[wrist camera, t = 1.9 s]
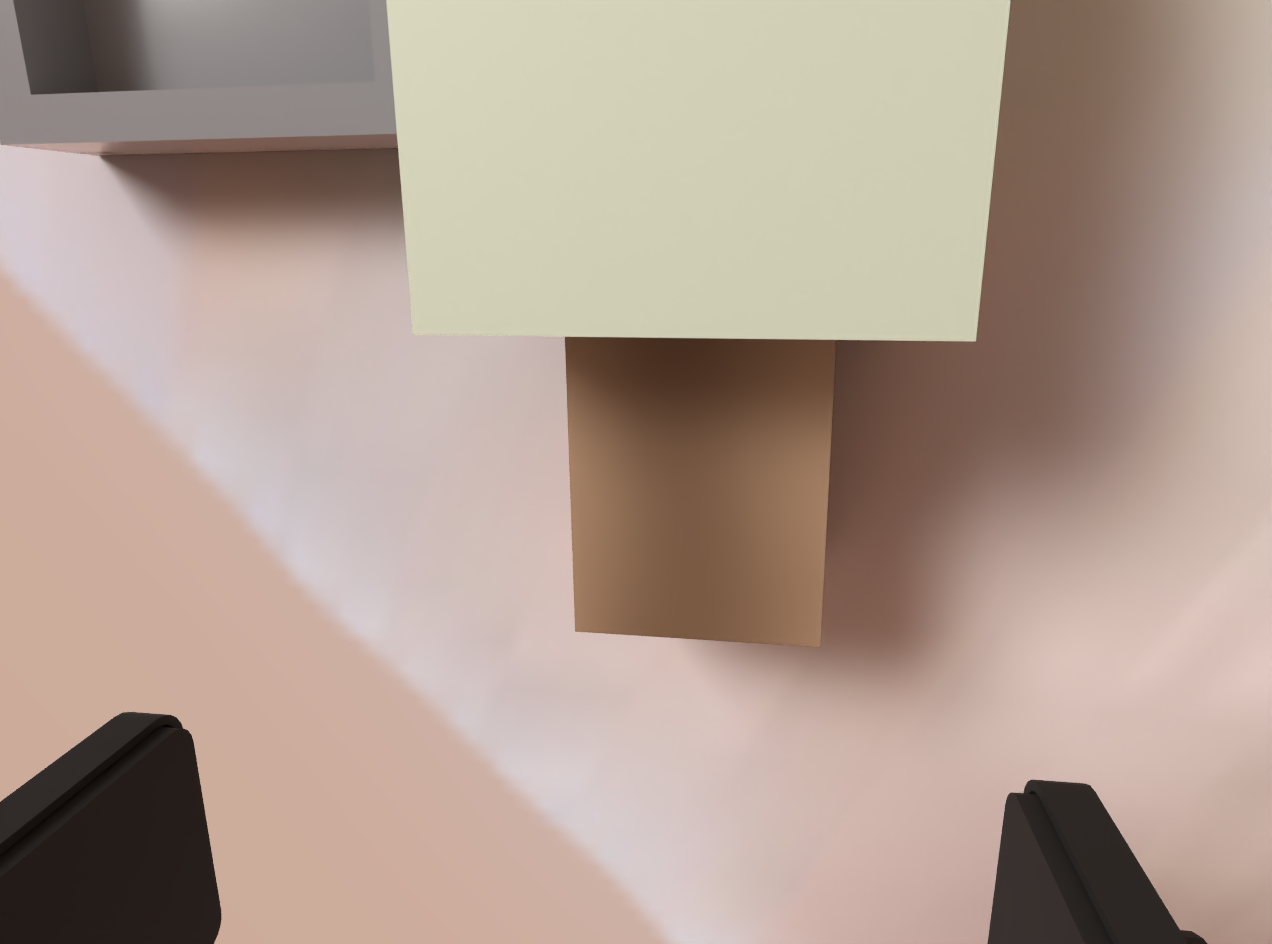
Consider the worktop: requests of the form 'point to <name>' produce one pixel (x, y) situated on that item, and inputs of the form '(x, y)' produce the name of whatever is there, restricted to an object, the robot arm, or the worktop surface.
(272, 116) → the tray
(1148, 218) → the worktop surface
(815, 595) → the block
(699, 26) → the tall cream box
